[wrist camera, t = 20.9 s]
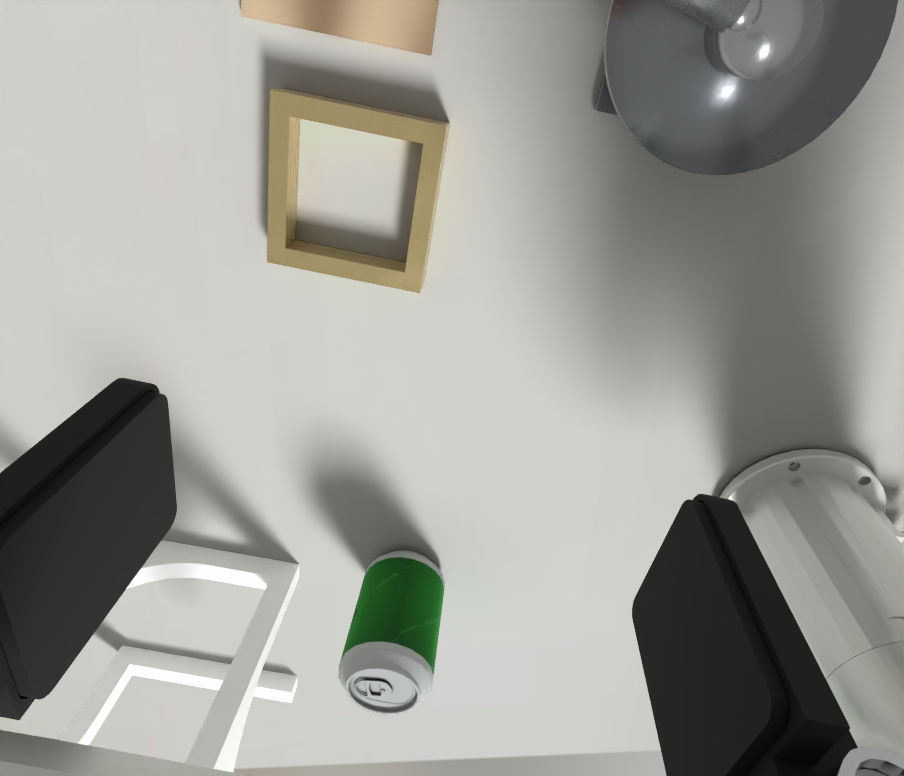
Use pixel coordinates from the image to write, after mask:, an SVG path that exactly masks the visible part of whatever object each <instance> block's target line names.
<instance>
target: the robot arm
mask: <svg viewBox="0 0 904 776" xmlns="http://www.w3.org/2000/svg"><path fill="white" fill-rule="evenodd" d="M176 511H177V504H176V492H175V480H174V469H173V457H172V445H171V434H170V422H169V410H168V401H167V398H166V396H165V395H163V394H160V393H159V389H158V388H157V386H156V385H154V384H151V383H146V382H141V381H136V380H131V379H126V378H119V379H117V380H115V381H114V382H112V383H111V384H110V385H109V386H107V387H106V388H105V389H104V390H102V391H101V392H100V393H99V394H98V395H96V396H95V397H94V398H93V399H91V400H90V401H89V402H88V403H86V404H85V405H84V406H83V407H81V408H80V409H79V410H78V411H76V412H75V413H74V414H73V415H72V416H70V417H69V418H68V419H67V420H65V421H64V422H63V423H62V424H60V425H59V426H58V427H57V428H55V429H54V430H53V431H52V432H51V433H49V434H48V435H47V436H46V437H44V438H43V439H42V440H41V441H39V442H38V443H37V444H36V445H34V446H33V447H32V448H31V449H30V450H28V451H27V452H26V453H25V454H23V455H22V456H21V457H20V458H18V459H17V460H16V461H15V462H13V463H12V464H11V465H10V466H9V467H7V468H6V469H5V470H4V471H2V472H1V473H0V717H5V718H10V719H16V720H20V719H21V717H22V716H23V714H24V713H25V712H26V710H27V709H28V708H29V706H30V705H31V704H32V702H33V701H34V700H35V699H42V698H44V697H46V696H47V695H48V694H49V693H50V692H51V691H52V690H53V688H54V687H55V686H56V684H57V683H58V682H59V680H60V679H61V678H62V676H63V675H64V673H65V672H66V671H67V669H68V668H69V667H70V665H71V664H72V662H73V661H74V660H75V658H76V657H77V656H78V654H79V653H80V651H81V650H82V649H83V647H84V646H85V645H86V643H87V642H88V640H89V639H90V638H91V636H92V635H93V634H94V632H95V631H96V629H97V628H98V627H99V625H100V624H101V623H102V621H103V620H104V618H105V617H106V616H107V614H108V613H109V612H110V610H111V609H112V607H113V606H114V605H115V603H116V602H117V601H118V599H119V598H120V597H121V595H122V594H123V592H124V591H125V590H126V588H127V587H128V586H129V584H130V583H131V581H132V580H133V579H134V577H135V576H136V575H137V573H138V572H139V570H140V569H141V568H142V566H143V565H144V564H145V562H146V561H147V559H148V558H149V557H150V555H151V554H152V553H153V551H154V550H155V548H156V547H157V546H158V544H159V543H160V542H161V540H162V539H163V537H164V536H165V535H166V533H167V532H168V531H169V529H170V528H171V526H172V524H173V522H174V519H175V516H176ZM885 512H886V495H885V491H884V488H883V486H882V484H881V483H880V481H879V480H878V478H877V477H876V476H875V474H874V473H873V472H872V471H871V470H870V469H869V468H868V467H867V466H866V465H865V464H863V463H862V462H860V461H859V460H857V459H856V458H854V457H851V456H849V455H846V454H844V453H841V452H836V451H831V450H824V449H804V450H794V451H789V452H785V453H781V454H777V455H774V456H772V457H769V458H767V459H764V460H761V461H759V462H758V463H756V464H754V465H752V466H750V467H749V468H747V469H745V470H744V471H743V472H742V473H740V474H739V475H738V476H736V477H735V478H734V479H733V480H732V481H731V482H730V483H729V484H728V486H727V487H726V488H725V489H724V490H723V492H722V494H721V495H720V497H715V496H710V495H705V494H698V495H697V496H696V497H695V498H694V499H693V500H686V501H685V502H684V503H683V504H682V506H681V508H680V510H679V512H678V514H677V516H676V518H675V520H674V522H673V524H672V526H671V528H670V529H669V531H668V533H667V535H666V537H665V539H664V541H663V543H662V545H661V547H660V549H659V551H658V553H657V555H656V557H655V559H654V561H653V563H652V565H651V567H650V569H649V571H648V573H647V575H646V577H645V579H644V581H643V583H642V585H641V587H640V589H639V591H638V593H637V595H636V597H635V599H634V602H633V608H632V617H633V623H634V628H635V632H636V637H637V641H638V646H639V651H640V655H641V660H642V664H643V669H644V674H645V678H646V683H647V687H648V692H649V697H650V701H651V706H652V710H653V715H654V720H655V724H656V729H657V733H658V738H659V743H660V747H661V752H662V756H663V761H664V765H665V769H666V775H667V776H904V532H900V531H898V530H897V529H896V527H895V526H894V525H893V524H892V523H891V521H890V520H889V519H888V518H887V516H886V515H885ZM0 776H249V775H244V774H238V773H233V772H228V771H222V770H217V769H211V768H206V767H201V766H195V765H190V764H185V763H179V762H174V761H169V760H163V759H158V758H153V757H147V756H142V755H137V754H131V753H126V752H120V751H115V750H110V749H104V748H99V747H94V746H88V745H83V744H78V743H72V742H67V741H62V740H56V739H50V738H44V737H38V736H32V735H26V734H20V733H14V732H8V731H2V730H0Z"/></svg>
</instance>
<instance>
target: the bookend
mask: <svg viewBox="0 0 904 776" xmlns="http://www.w3.org/2000/svg"><path fill="white" fill-rule="evenodd" d="M172 578H200V579H208V580H214V581H220V582H225V583H231V584H237V585H243V586H248V587H254V588H260V589H266V590H265V592H264V594H263V596H262V598H261V600H260V602H259V605H258V607H257V609H256V611H255V613H254V615H253V618H252V620H251V622H250V624H249V626H248V628H247V631H246V633H245V635H244V637H243V639H242V641H241V644H240V646H239V648H238V650H237V652H236V654H235V657H234V659H233V661H232V663H231V664H226V663H220V662H214V661H209V660H203V659H197V658H191V657H186V656H180V655H174V654H169V653H163V652H157V651H151V650H146V649H140V648H134V647H129V646H123V645H122V646H121V648H120V649H119V651H118V652H117V654H116V655H115V657H114V658H113V660H112V661H111V663H110V664H109V666H108V667H107V669H106V670H105V672H104V673H103V675H102V676H101V678H100V679H99V681H98V682H97V684H96V685H95V687H94V688H93V690H92V692H91V693H90V695H89V696H88V698H87V699H86V701H85V702H84V704H83V705H82V707H81V708H80V710H79V711H78V713H77V714H76V716H75V717H74V719H73V720H72V721H71V723H70V724H69V726H68V727H67V728H66V730H65V731H64V732H63V734H62V735H61V736H60V737H59V739H58V740H62V741H67V742H72V743H78V744H83V745H88V746H89V744H90V743H91V741H92V740H93V738H94V736H95V735H96V733H97V731H98V730H99V728H100V727H101V725H102V723H103V722H104V720H105V718H106V717H107V715H108V714H109V712H110V710H111V709H112V707H113V705H114V704H115V702H116V701H117V699H118V697H119V696H120V694H121V692H122V691H123V689H124V688H125V686H126V684H127V683H128V681H129V679H130V678H131V676H132V675H134V676H140V677H146V678H152V679H157V680H163V681H169V682H174V683H180V684H186V685H191V686H197V687H203V688H209V689H214V690H219V691H218V693H217V695H216V698H215V700H214V702H213V704H212V706H211V708H210V711H209V713H208V715H207V717H206V719H205V721H204V723H203V726H202V728H201V730H200V732H199V734H198V736H197V739H196V741H195V743H194V745H193V747H192V749H191V752H190V754H189V756H188V758H187V760H186V762H185V764H190V765H195V766H201V767H206V768H211V769H217V770H222V771H228V772H233V771H234V766H235V762H236V757H237V753H238V749H239V745H240V741H241V737H242V733H243V729H244V726H245V722H246V718H247V715H248V711H249V708H250V705H251V701H252V698H253V696H254V697H260V698H266V699H271V700H277V701H283V702H288V703H292V700H293V697H294V694H295V691H296V688H297V676H294V675H289V674H283V673H277V672H271V671H266V670H262V669H263V666H264V663H265V660H266V658H267V656H268V653H269V651H270V648H271V646H272V643H273V641H274V638H275V636H276V634H277V631H278V629H279V626H280V624H281V621H282V619H283V616H284V614H285V611H286V609H287V607H288V604H289V602H290V599H291V597H292V594H293V592H294V589H295V587H296V584H297V582H298V580H299V564H296V563H290V562H284V561H279V560H273V559H267V558H261V557H256V556H250V555H244V554H238V553H233V552H227V551H221V550H216V549H210V548H204V547H198V546H193V545H187V544H181V543H175V542H170V541H164V540H161V542H160V543H159V544H158V546H157V547H156V548H155V550H154V551H153V553H152V554H151V555H150V557H149V558H148V559H147V561H146V562H145V564H144V565H143V566H142V568H141V569H140V570H139V572H138V573H137V575H136V576H135V577H134V579H133V580H132V581H131V583H130V584H129V586H128V587H127V588H130V587H133V586H137V585H140V584H144V583H148V582H152V581H158V580H164V579H172ZM127 588H126V589H127Z"/></svg>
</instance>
